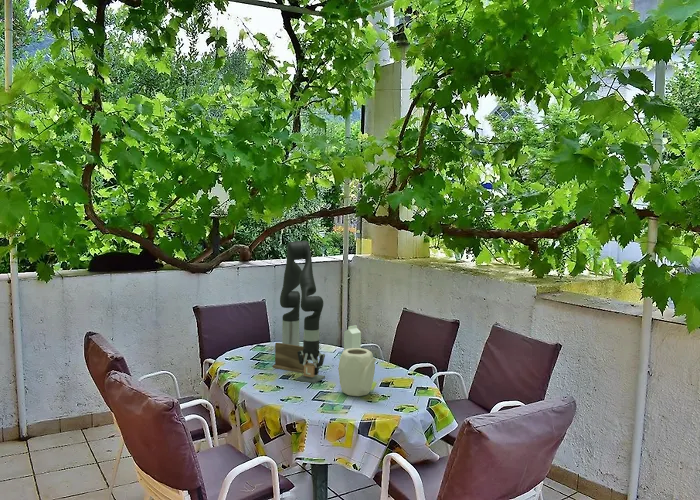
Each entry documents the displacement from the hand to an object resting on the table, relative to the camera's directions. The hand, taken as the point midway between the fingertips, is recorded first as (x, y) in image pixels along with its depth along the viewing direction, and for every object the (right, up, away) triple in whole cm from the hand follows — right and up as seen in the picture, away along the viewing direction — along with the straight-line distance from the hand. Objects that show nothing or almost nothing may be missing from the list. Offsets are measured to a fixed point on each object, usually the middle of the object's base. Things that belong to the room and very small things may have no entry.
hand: (310, 373), depth 279 cm
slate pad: (0, -2, 0) cm, 2 cm away
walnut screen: (-11, -1, +15) cm, 19 cm away
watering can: (+22, -5, -19) cm, 29 cm away
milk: (+19, -1, +18) cm, 26 cm away
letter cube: (0, -1, 0) cm, 1 cm away
